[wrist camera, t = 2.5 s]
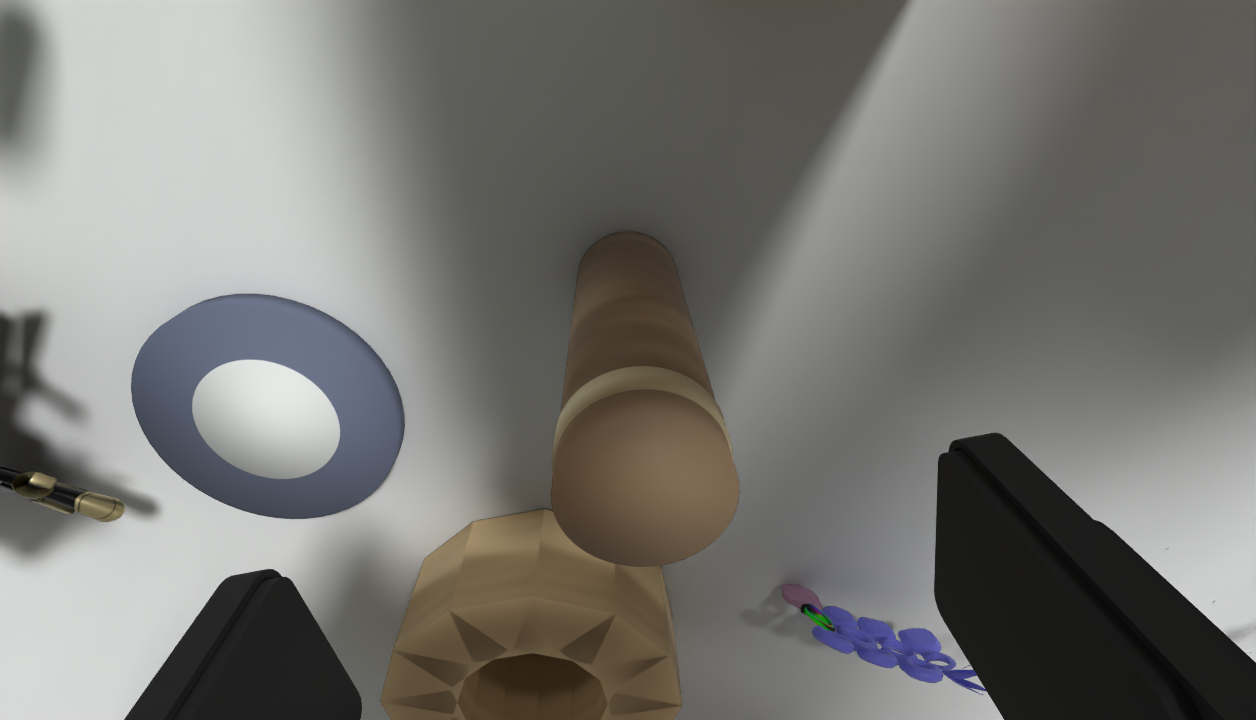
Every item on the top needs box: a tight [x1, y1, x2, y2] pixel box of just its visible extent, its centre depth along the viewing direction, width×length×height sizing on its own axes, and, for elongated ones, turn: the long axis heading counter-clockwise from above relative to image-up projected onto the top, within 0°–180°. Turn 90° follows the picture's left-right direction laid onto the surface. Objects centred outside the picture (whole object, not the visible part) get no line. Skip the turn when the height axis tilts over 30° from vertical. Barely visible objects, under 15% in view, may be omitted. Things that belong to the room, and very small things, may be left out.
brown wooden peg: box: [551, 232, 739, 567], centre depth 14 cm, size 3×3×10 cm
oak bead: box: [380, 509, 682, 720], centre depth 23 cm, size 10×10×4 cm
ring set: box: [782, 548, 1251, 695], centre depth 21 cm, size 25×12×12 cm, turn 88°
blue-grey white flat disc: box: [131, 294, 405, 519], centre depth 20 cm, size 8×8×1 cm
